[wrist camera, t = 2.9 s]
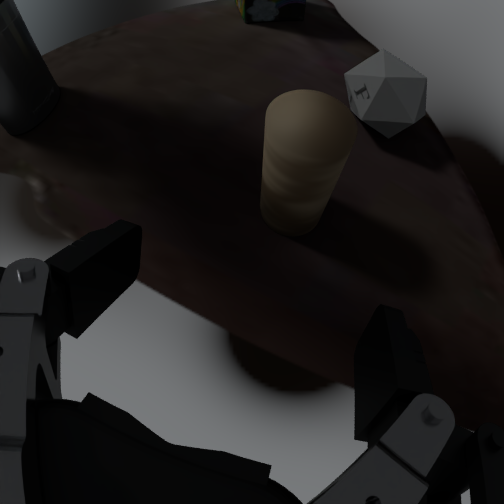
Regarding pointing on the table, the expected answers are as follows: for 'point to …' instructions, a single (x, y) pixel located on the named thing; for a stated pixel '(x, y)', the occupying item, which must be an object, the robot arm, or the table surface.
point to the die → (386, 93)
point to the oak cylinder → (303, 158)
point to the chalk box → (271, 10)
